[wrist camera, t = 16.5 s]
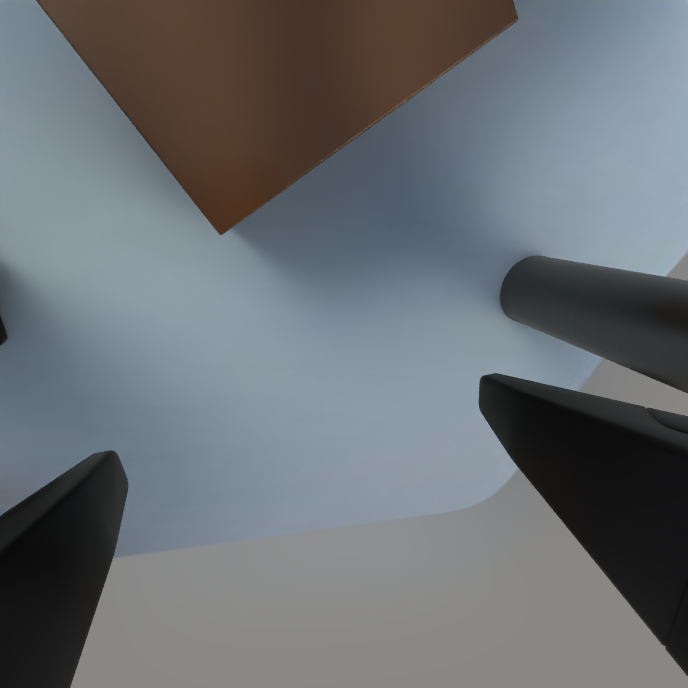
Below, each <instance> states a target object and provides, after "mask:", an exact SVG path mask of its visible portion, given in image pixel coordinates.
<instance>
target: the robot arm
mask: <svg viewBox="0 0 688 688" xmlns="http://www.w3.org/2000/svg"><path fill="white" fill-rule="evenodd" d="M6 340H7V333H6V331H5V328H4V325H3V322H2V319H1V316H0V345H2V344H4V343H5V342H6ZM479 408H480V411H481V413H482V415H483V416H484V418H485V419H486V421H487V422H488V424H489V425H490V427H491V428H492V430H493V431H494V433H495V435H496V436H497V438H498V439H499V441H500V442H501V444H502V445H503V447H504V448H505V450H506V451H507V453H508V454H509V456H510V457H511V458H512V460H513V461H514V462H515V464H516V465H517V466H518V467H519V469H520V470H521V471H522V472H523V473H524V475H525V476H526V477H527V478H528V480H529V481H530V482H531V483H532V485H533V486H534V487H535V488H536V490H537V491H538V492H539V493H540V494H541V496H542V497H543V498H544V499H545V501H546V502H547V503H548V504H549V506H550V507H551V508H552V509H553V511H554V512H555V513H556V514H557V515H558V517H559V518H560V519H561V520H562V521H563V523H564V524H565V525H566V527H567V528H568V529H569V530H570V531H571V533H572V534H573V535H574V536H575V538H576V539H577V540H578V541H579V543H580V544H581V545H582V546H583V548H584V549H585V550H586V551H587V552H588V554H589V555H590V556H591V557H592V559H593V560H594V561H595V562H596V564H597V565H598V566H599V567H600V568H601V570H602V571H603V572H604V573H605V575H606V576H607V577H608V578H609V579H610V581H611V582H612V583H613V584H614V586H615V587H616V588H617V589H618V591H619V592H620V593H621V594H622V596H623V597H624V598H625V599H626V600H627V602H628V603H629V604H630V605H631V607H632V608H633V609H634V610H635V612H636V613H637V614H638V615H639V616H640V618H641V619H642V620H643V621H644V622H645V624H646V625H647V626H648V628H649V629H650V630H651V631H652V633H653V634H654V635H655V636H656V637H657V639H658V640H659V641H660V642H661V644H662V645H664V646H666V647H665V648H666V650H667V651H668V653H669V654H670V655H671V656H672V658H673V659H674V660H675V661H676V663H677V664H678V665H679V666H680V667H681V669H682V670H683V671H684V672H685V674H686V675H687V676H688V416H684V415H679V414H675V413H670V412H665V411H661V410H657V409H652V408H647V409H646V408H645V407H643V406H639V405H634V404H630V403H626V402H621V401H617V400H612V399H608V398H603V397H599V396H595V395H590V394H586V393H582V392H577V391H573V390H568V389H564V388H559V387H555V386H551V385H546V384H542V383H537V382H533V381H529V380H524V379H520V378H515V377H511V376H507V375H502V374H498V373H494V374H489V375H485V376H482V377H481V379H480V383H479ZM127 492H128V479H127V476H126V474H125V471H124V469H123V466H122V464H121V461H120V459H119V456H118V454H117V453H116V452H115V451H113V450H109V451H104V452H99V453H95V454H92V455H91V456H89V457H88V458H86V459H85V460H83V461H82V462H80V463H79V464H77V465H76V466H74V467H73V468H71V469H70V470H68V471H67V472H65V473H64V474H62V475H61V476H59V477H58V478H56V479H55V480H53V481H52V482H50V483H49V484H47V485H46V486H44V487H43V488H41V489H40V490H38V491H37V492H35V493H34V494H32V495H31V496H29V497H28V498H26V499H25V500H23V501H22V502H20V503H19V504H17V505H16V506H14V507H13V508H11V509H10V510H8V511H7V512H5V513H4V514H2V515H1V516H0V688H70V686H71V683H72V680H73V677H74V674H75V671H76V668H77V665H78V662H79V659H80V656H81V653H82V650H83V647H84V644H85V641H86V638H87V635H88V632H89V629H90V626H91V623H92V620H93V617H94V614H95V611H96V608H97V605H98V601H99V599H100V596H101V593H102V589H103V587H104V584H105V581H106V578H107V574H108V572H109V569H110V565H111V562H112V559H113V556H114V552H115V548H116V544H117V539H118V535H119V530H120V525H121V520H122V516H123V511H124V506H125V501H126V497H127Z"/></svg>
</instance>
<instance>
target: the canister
mask: <svg viewBox="0 0 688 688" xmlns="http://www.w3.org/2000/svg"><path fill="white" fill-rule="evenodd" d="M500 298H501V305H502V308H503V310H504V312H505V313H506V314H507V315H508V316H509V317H510V318H511V319H513V320H515V321H518V322H520V323H522V324H525V325H527V326H529V327H532V328H534V329H537V330H539V331H541V332H544V333H546V334H548V335H551V336H553V337H556V338H558V339H560V340H563V341H565V342H567V343H570V344H572V345H574V346H577V347H579V348H582V349H584V350H586V351H589V352H591V353H593V354H596V355H598V356H601V357H603V358H605V359H608V360H610V361H612V362H615V363H617V364H619V365H622V366H624V367H627V368H629V369H631V370H634V371H636V372H638V373H641V374H643V375H646V376H648V377H650V378H653V379H655V380H657V381H660V382H662V383H665V384H667V385H669V386H672V387H674V388H676V389H679V390H681V391H683V392H686V393H688V281H687V280H680V279H675V278H669V277H663V276H657V275H651V274H645V273H639V272H633V271H627V270H621V269H615V268H609V267H603V266H597V265H591V264H585V263H579V262H573V261H567V260H561V259H555V258H549V257H543V256H531V257H528V258H525V259H523V260H521V261H520V262H518V263H517V264H516V265H515V266H514V267H513V268H512V269H511V270H510V271H509V273H508V274H507V276H506V277H505V279H504V282H503V284H502V288H501V295H500Z"/></svg>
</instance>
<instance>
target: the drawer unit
mask: <svg viewBox="0 0 688 688" xmlns="http://www.w3.org/2000/svg"><path fill="white" fill-rule="evenodd" d="M36 1H37V2H38V4H39V5H40V6H41V7H42V9H43V10H44V11H45V13H46V14H47V15H48V16H49V18H50V19H51V20H52V21H53V23H54V24H55V25H56V27H57V28H58V29H59V30H60V32H61V33H62V34H63V35H64V37H65V38H66V39H67V41H68V42H69V43H70V44H71V46H72V47H73V48H74V50H75V51H76V52H77V53H78V55H79V56H80V57H81V58H82V60H83V61H84V62H85V64H86V65H87V66H88V67H89V69H90V70H91V71H92V73H93V74H94V75H95V76H96V78H97V79H98V80H99V81H100V83H101V84H102V85H103V87H104V88H105V89H106V90H107V92H108V93H109V94H110V96H111V97H112V98H113V99H114V101H115V102H116V103H117V104H118V106H119V107H120V108H121V110H122V111H123V112H124V113H125V115H126V116H127V117H128V118H129V120H130V121H131V122H132V124H133V125H134V126H135V127H136V129H137V130H138V131H139V133H140V134H141V135H142V136H143V138H144V139H145V140H146V141H147V143H148V144H149V145H150V147H151V148H152V149H153V150H154V152H155V153H156V154H157V156H158V157H159V158H160V159H161V161H162V162H163V163H164V164H165V166H166V167H167V168H168V170H169V171H170V172H171V173H172V175H173V176H174V177H175V178H176V180H177V181H178V182H179V184H180V185H181V186H182V187H183V189H184V190H185V191H186V193H187V194H188V195H189V196H190V198H191V199H192V200H193V201H194V203H195V204H196V205H197V207H198V208H199V209H200V210H201V212H202V213H203V214H204V216H205V217H206V218H207V219H208V221H209V222H210V223H211V224H212V226H213V227H214V228H215V230H216V231H217V232H218V233H219V234H220V235H223V234H224V233H225V232H227V231H228V230H229V229H231V228H232V227H234V226H235V225H236V224H238V223H239V222H241V221H242V220H243V219H245V218H246V217H247V216H249V215H250V214H252V213H253V212H254V211H256V210H257V209H258V208H260V207H261V206H263V205H264V204H265V203H267V202H268V201H269V200H271V199H272V198H274V197H275V196H276V195H278V194H279V193H281V192H282V191H283V190H285V189H286V188H287V187H289V186H290V185H292V184H293V183H294V182H296V181H297V180H298V179H300V178H301V177H303V176H304V175H305V174H307V173H308V172H310V171H311V170H312V169H314V168H315V167H316V166H318V165H319V164H321V163H322V162H323V161H325V160H326V159H327V158H329V157H330V156H332V155H333V154H334V153H336V152H337V151H339V150H340V149H341V148H343V147H344V146H345V145H347V144H348V143H350V142H351V141H352V140H354V139H355V138H356V137H358V136H359V135H361V134H362V133H363V132H365V131H366V130H367V129H369V128H370V127H372V126H373V125H374V124H376V123H377V122H379V121H380V120H381V119H383V118H384V117H385V116H387V115H388V114H390V113H391V112H392V111H394V110H395V109H396V108H398V107H399V106H401V105H402V104H403V103H405V102H406V101H408V100H409V99H410V98H412V97H413V96H414V95H416V94H417V93H419V92H420V91H421V90H423V89H424V88H425V87H427V86H428V85H430V84H431V83H432V82H434V81H435V80H436V79H438V78H439V77H441V76H442V75H443V74H445V73H446V72H448V71H449V70H450V69H452V68H453V67H454V66H456V65H457V64H459V63H460V62H461V61H463V60H464V59H465V58H467V57H468V56H470V55H471V54H472V53H474V52H475V51H477V50H478V49H479V48H481V47H482V46H483V45H485V44H486V43H488V42H489V41H490V40H492V39H493V38H494V37H496V36H497V35H499V34H500V33H501V32H503V31H504V30H506V29H507V28H508V27H510V26H511V25H512V24H514V23H515V22H517V20H518V15H517V12H516V9H515V6H514V3H513V0H36Z"/></svg>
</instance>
